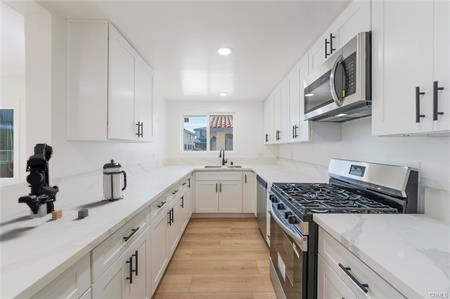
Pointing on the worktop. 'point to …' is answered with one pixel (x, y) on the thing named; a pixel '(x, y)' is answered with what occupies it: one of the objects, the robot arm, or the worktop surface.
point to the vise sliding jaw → (56, 214)
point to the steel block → (39, 211)
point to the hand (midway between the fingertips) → (38, 213)
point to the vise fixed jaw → (82, 213)
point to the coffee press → (113, 180)
